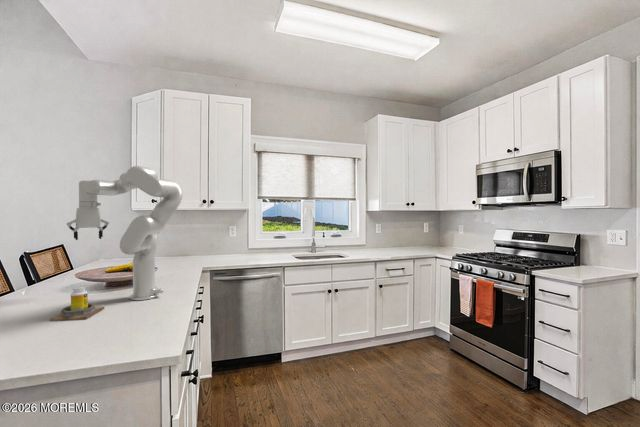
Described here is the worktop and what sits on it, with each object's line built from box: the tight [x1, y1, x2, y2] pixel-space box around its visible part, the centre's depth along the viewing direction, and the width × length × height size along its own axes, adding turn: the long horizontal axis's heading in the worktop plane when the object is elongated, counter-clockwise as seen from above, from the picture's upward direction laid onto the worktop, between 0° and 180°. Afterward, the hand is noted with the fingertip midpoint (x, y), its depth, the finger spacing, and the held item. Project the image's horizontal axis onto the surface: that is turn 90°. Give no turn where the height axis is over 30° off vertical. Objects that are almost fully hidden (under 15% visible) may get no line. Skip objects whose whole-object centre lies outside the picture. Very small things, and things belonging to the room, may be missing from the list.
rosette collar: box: [49, 302, 105, 322], centre depth 132 cm, size 13×13×3 cm
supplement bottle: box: [70, 285, 89, 311], centre depth 133 cm, size 6×6×10 cm
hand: (88, 239), depth 162 cm, fingers open, 9 cm apart
